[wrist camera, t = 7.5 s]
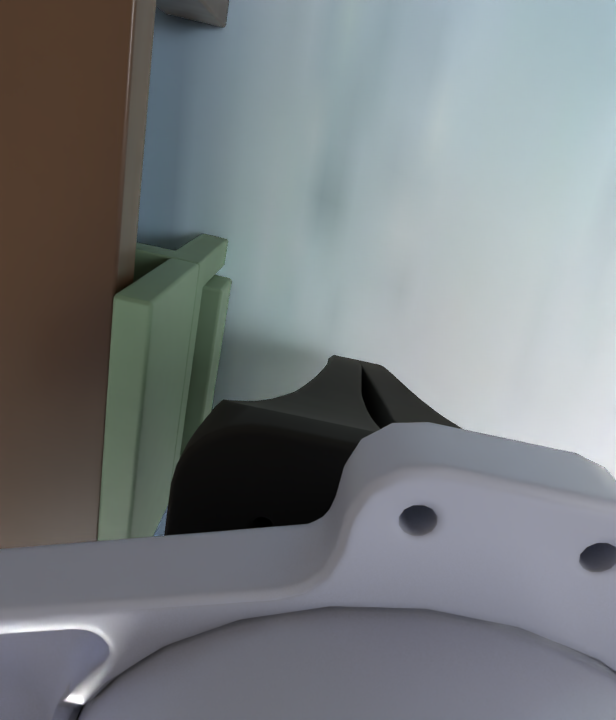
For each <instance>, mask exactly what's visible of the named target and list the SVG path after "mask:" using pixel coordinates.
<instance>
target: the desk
mask: <svg viewBox="0 0 616 720" xmlns="http://www.w3.org/2000/svg"><path fill="white" fill-rule="evenodd" d="M228 6H229V0H0V549H8V548H20V547H33V546H45V545H57V544H69V543H81V542H93V541H97V540H98V525H99V510H100V495H101V480H102V465H103V450H104V435H105V420H106V405H107V390H108V375H109V360H110V345H111V330H112V315H113V300H114V296H115V294H117V293H118V292H120V291H121V290H123V289H124V288H126V287H128V286H129V285H131V284H132V283H133V277H134V265H135V253H136V241H137V229H138V217H139V205H140V192H141V180H142V168H143V156H144V144H145V132H146V119H147V107H148V95H149V83H150V71H151V59H152V46H153V34H154V22H155V10H156V7H157V8H159V9H160V10H161V11H162V12H164V13H165V14H169V15H173V16H177V17H181V18H185V19H190V20H194V21H198V22H202V23H206V24H210V25H215V26H219V27H225V26H226V21H227V13H228Z"/></svg>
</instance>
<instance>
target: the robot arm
mask: <svg viewBox="0 0 616 720" xmlns="http://www.w3.org/2000/svg"><path fill="white" fill-rule="evenodd" d="M0 720H616V480H615V479H614V478H613V476H612V475H611V474H610V473H609V472H608V471H607V469H606V468H605V467H603V466H601V465H599V464H597V463H595V462H593V461H591V460H589V459H587V458H585V457H583V456H581V455H579V454H577V453H573V452H568V451H563V450H558V449H554V448H549V447H544V446H540V445H535V444H530V443H525V442H521V441H516V440H511V439H506V438H502V437H497V436H492V435H487V434H483V433H478V432H473V431H468V430H464V429H462V428H461V427H459V426H457V425H456V424H454V423H453V422H451V421H449V420H448V419H446V418H445V417H443V416H442V415H440V414H439V413H437V412H436V411H435V410H433V409H432V408H431V407H429V406H428V405H427V404H426V403H424V402H423V401H422V400H421V399H419V398H418V397H417V396H416V395H415V394H414V393H412V392H411V391H410V390H409V389H408V388H407V387H406V386H405V385H403V384H402V383H401V382H400V381H399V380H398V379H397V378H396V377H395V376H394V375H393V374H392V373H390V372H389V371H388V370H387V369H386V368H384V367H383V366H381V365H378V364H373V363H369V362H364V361H359V360H355V359H350V358H345V357H341V356H336V355H333V356H332V357H330V358H329V359H328V363H327V365H326V366H325V367H324V369H323V370H322V371H321V372H320V373H319V374H318V375H317V376H316V377H315V378H314V379H312V380H311V381H310V382H309V383H307V384H306V385H305V386H303V387H302V388H300V389H299V390H297V391H295V392H293V393H290V394H287V395H284V396H280V397H277V398H273V399H267V400H259V401H233V400H222V401H221V402H220V403H219V404H218V405H217V406H216V407H215V408H214V409H213V410H212V411H211V413H210V414H209V415H208V416H207V417H206V418H205V420H204V421H203V422H202V423H201V425H200V426H199V427H198V428H197V430H196V431H195V433H194V434H193V435H192V437H191V438H190V440H189V442H188V443H187V445H186V447H185V449H184V451H183V453H182V455H181V457H180V459H179V461H178V463H177V465H176V468H175V471H174V475H173V478H172V481H171V487H170V495H169V503H168V510H167V518H166V526H165V534H164V536H154V537H142V538H130V539H118V540H106V541H93V542H81V543H69V544H57V545H45V546H33V547H20V548H8V549H0Z"/></svg>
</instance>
